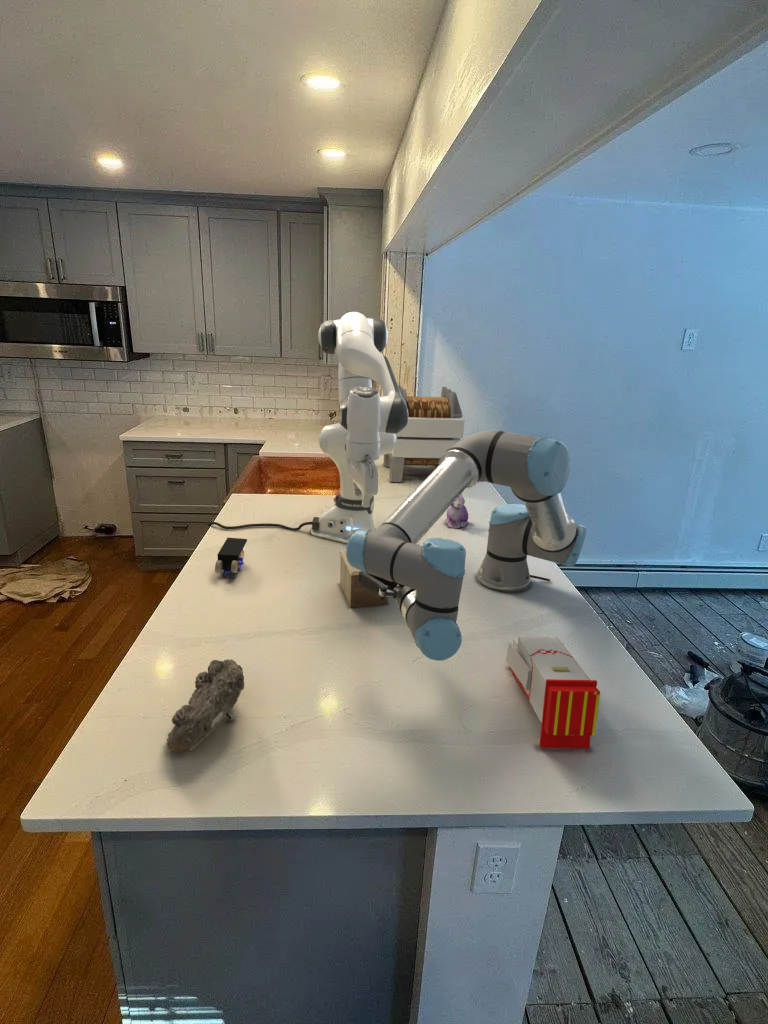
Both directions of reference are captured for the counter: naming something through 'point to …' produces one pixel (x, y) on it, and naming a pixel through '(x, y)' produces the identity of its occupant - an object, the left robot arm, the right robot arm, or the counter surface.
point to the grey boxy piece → (426, 432)
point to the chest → (356, 589)
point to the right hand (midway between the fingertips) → (397, 568)
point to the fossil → (206, 705)
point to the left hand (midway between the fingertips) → (361, 500)
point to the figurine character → (230, 556)
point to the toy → (555, 691)
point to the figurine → (457, 513)
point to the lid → (343, 553)
